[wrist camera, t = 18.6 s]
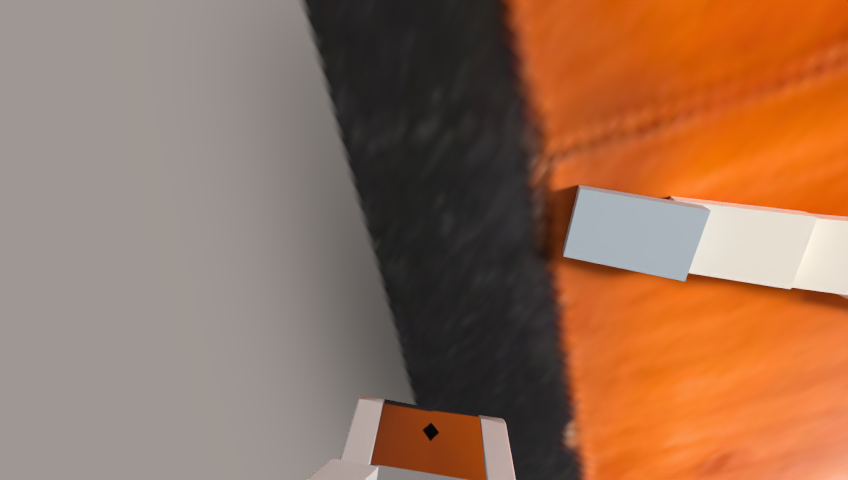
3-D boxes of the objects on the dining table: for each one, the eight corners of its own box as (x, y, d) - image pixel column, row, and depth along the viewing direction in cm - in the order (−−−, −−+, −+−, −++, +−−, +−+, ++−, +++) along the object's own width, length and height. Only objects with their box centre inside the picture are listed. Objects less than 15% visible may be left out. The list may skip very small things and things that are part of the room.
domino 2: (657, 268, 30) (790, 289, 28) (675, 200, 28) (817, 217, 26) (653, 260, 31) (779, 280, 29) (670, 195, 30) (804, 211, 27)
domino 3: (748, 281, 30) (895, 301, 27) (767, 214, 28) (925, 228, 25) (741, 273, 31) (880, 292, 28) (759, 209, 30) (907, 222, 27)
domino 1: (563, 256, 30) (685, 281, 28) (580, 188, 28) (710, 210, 26) (562, 249, 31) (678, 273, 29) (578, 184, 30) (702, 205, 28)
